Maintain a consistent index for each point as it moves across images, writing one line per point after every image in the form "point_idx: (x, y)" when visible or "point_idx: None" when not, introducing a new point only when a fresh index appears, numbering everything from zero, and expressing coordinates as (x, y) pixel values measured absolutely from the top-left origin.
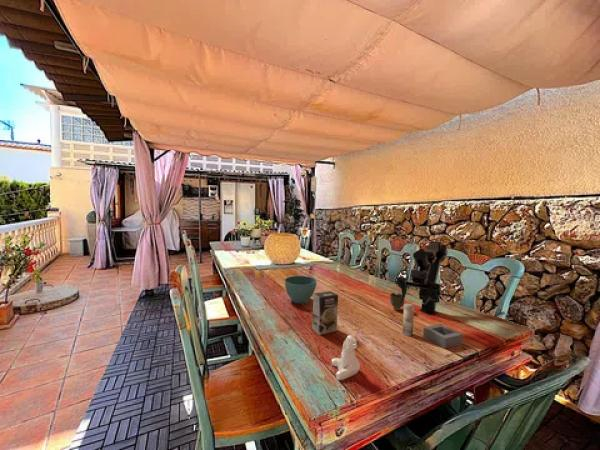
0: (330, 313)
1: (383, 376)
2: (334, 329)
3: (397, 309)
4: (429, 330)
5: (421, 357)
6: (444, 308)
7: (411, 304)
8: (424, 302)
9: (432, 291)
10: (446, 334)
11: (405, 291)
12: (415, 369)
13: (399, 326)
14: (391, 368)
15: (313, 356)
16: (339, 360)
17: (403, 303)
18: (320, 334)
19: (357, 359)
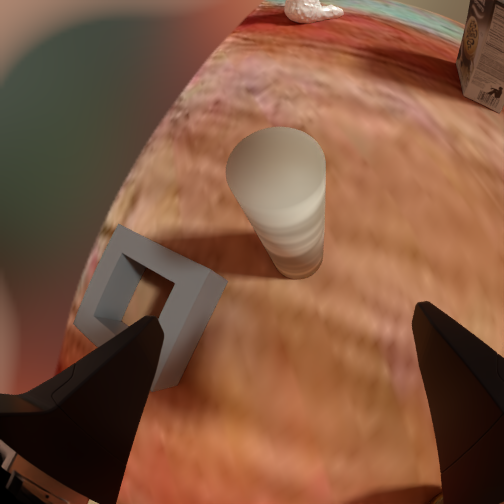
0: (472, 33)
1: (249, 37)
2: (463, 84)
3: (438, 496)
4: (179, 254)
5: (198, 129)
6: None
7: (263, 201)
8: (146, 318)
9: (1, 397)
10: None
11: (456, 440)
12: (201, 83)
13: (367, 310)
14: (247, 55)
15: (380, 16)
16: (324, 6)
17: None
18: (456, 63)
19: (296, 9)
